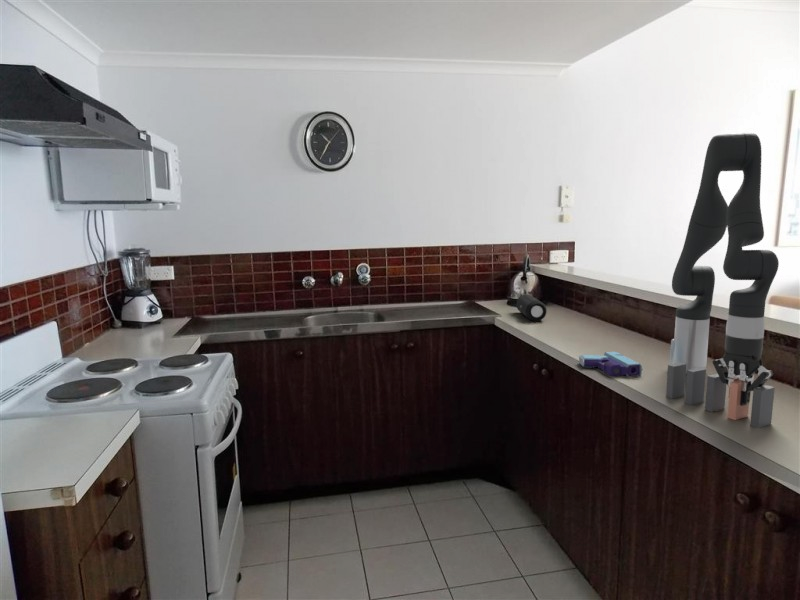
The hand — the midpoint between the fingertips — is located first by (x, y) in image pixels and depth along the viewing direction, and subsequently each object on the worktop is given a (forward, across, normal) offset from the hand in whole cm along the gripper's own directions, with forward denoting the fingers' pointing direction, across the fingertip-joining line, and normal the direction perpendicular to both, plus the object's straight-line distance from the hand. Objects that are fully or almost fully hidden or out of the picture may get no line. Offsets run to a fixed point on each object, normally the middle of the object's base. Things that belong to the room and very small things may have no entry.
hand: (738, 403), depth 124 cm
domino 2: (+3, +11, 0) cm, 12 cm away
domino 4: (+3, 0, 0) cm, 3 cm away
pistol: (+4, +43, -4) cm, 44 cm away
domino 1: (+3, +17, 0) cm, 17 cm away
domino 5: (+4, -5, 0) cm, 6 cm away
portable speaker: (+3, +124, -39) cm, 130 cm away
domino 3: (+3, +6, 0) cm, 7 cm away
